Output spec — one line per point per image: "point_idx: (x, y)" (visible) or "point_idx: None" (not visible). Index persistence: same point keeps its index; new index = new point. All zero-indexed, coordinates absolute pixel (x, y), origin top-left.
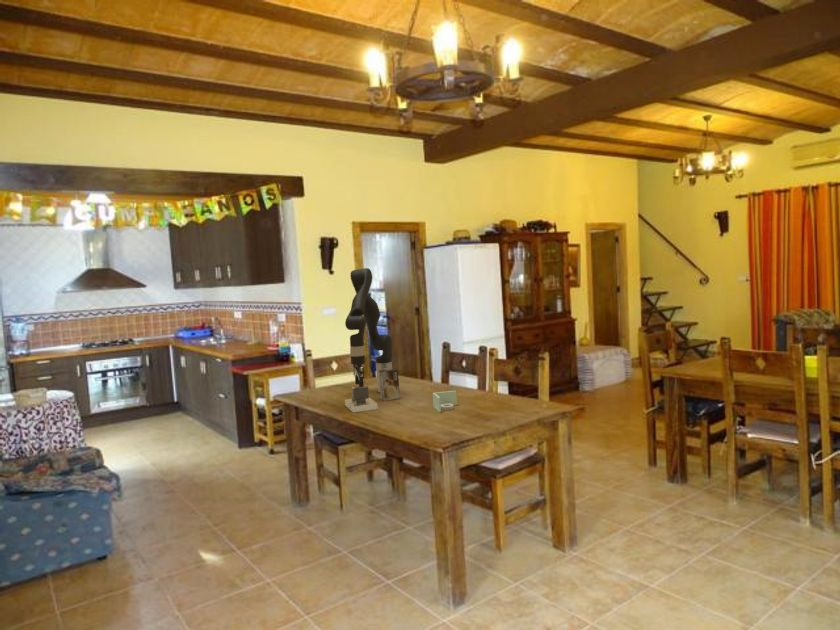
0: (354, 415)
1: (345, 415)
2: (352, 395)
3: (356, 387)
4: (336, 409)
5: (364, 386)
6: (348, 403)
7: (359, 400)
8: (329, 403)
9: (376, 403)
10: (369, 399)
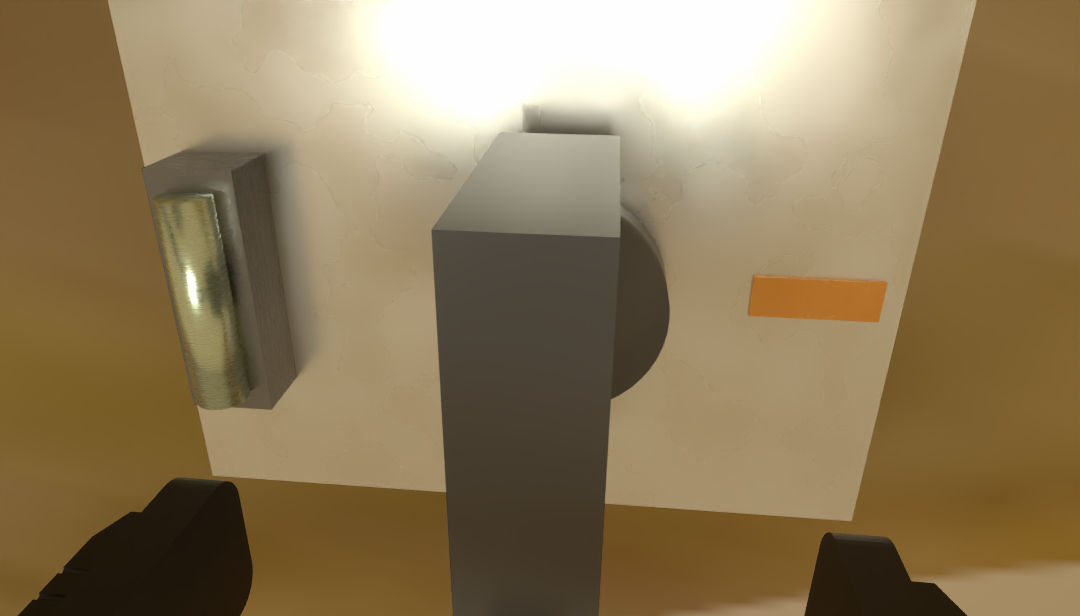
0: (1030, 481)
1: (916, 574)
2: (202, 399)
3: (453, 567)
4: None
5: (440, 328)
6: None
7: (647, 364)
8: (54, 552)
9: (971, 20)
10: (435, 56)
